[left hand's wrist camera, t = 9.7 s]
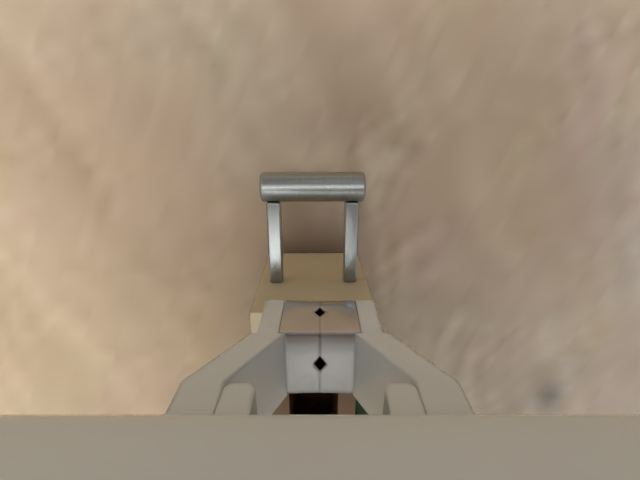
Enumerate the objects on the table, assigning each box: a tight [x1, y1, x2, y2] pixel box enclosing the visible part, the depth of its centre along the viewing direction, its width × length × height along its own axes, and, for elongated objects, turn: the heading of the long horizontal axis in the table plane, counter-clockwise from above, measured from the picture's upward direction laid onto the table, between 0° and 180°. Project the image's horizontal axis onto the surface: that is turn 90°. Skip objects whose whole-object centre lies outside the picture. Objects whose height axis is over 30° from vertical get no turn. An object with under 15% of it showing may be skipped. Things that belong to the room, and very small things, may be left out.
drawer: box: [250, 172, 372, 415], centre depth 19 cm, size 22×5×7 cm, turn 0°
